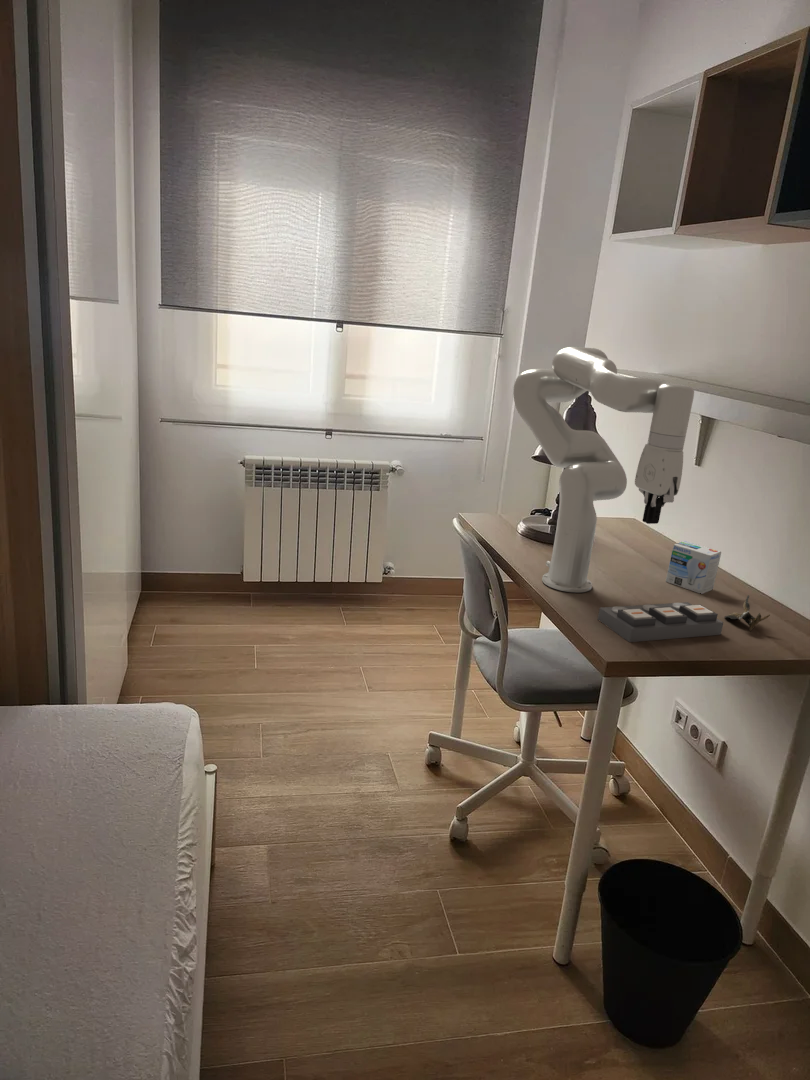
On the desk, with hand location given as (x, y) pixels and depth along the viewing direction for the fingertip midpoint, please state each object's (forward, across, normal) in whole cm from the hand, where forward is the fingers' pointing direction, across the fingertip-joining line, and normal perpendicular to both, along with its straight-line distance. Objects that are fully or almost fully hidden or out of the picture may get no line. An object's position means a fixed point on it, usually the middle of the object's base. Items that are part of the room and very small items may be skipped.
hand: (650, 522), depth 174 cm
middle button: (+20, +8, +3) cm, 22 cm away
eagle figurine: (+23, +8, +26) cm, 36 cm away
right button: (+20, +8, +12) cm, 24 cm away
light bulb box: (+23, -17, +31) cm, 42 cm away
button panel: (+23, +6, +3) cm, 24 cm away
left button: (+20, +8, -6) cm, 22 cm away
